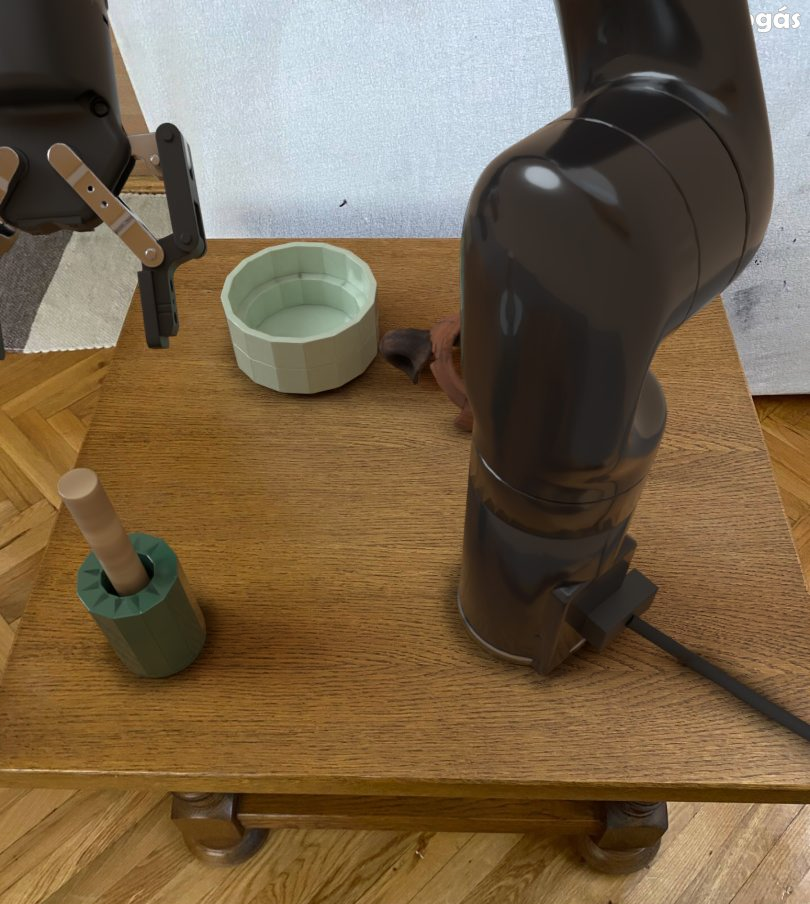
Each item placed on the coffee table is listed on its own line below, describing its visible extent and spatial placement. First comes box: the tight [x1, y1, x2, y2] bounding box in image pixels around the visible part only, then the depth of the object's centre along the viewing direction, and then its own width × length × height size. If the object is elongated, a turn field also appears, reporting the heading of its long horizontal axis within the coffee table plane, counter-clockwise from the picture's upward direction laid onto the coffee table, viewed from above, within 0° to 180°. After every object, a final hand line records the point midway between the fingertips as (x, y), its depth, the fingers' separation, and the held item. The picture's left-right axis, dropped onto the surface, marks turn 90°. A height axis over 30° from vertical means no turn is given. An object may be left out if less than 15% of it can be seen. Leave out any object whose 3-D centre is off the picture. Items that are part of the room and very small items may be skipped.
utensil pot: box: [76, 531, 207, 679], centre depth 51 cm, size 6×6×8 cm
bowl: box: [220, 241, 380, 395], centre depth 67 cm, size 12×12×6 cm
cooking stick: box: [57, 467, 151, 597], centre depth 47 cm, size 2×2×16 cm
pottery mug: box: [378, 311, 474, 432], centre depth 65 cm, size 12×10×8 cm
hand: (75, 354), depth 42 cm, fingers open, 8 cm apart
